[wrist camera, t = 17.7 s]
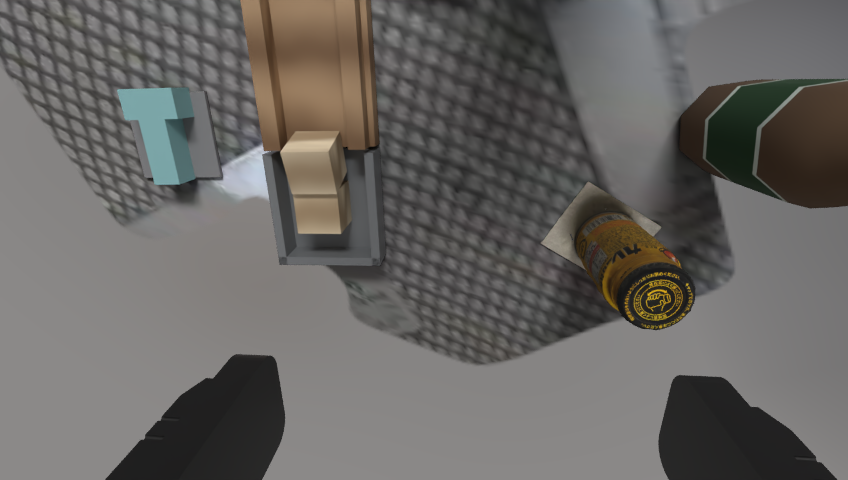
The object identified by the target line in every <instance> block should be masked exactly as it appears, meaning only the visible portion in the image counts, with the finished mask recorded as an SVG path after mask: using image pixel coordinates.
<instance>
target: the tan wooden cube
mask: <svg viewBox="0 0 848 480" xmlns="http://www.w3.org/2000/svg"><path fill="white" fill-rule="evenodd" d="M280 154H281V157H282V161H283V164H284V168H285V171H286V175H287V178H288V182H289V185H290V189H291V192H292V194H337V193H338V191H339V189H340V186H341V184H342V182H343V179H344V177H345V175H346V173H347V168H346V162H345V157H344V151H343V146H342V140H341V135H340V131H296V132H295V133H294V134H293V136H292V137H291V138H290V140H289V141H288V142H287V144H286V145H285V146H284V148H283V149H282V150H281V152H280Z"/></svg>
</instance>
